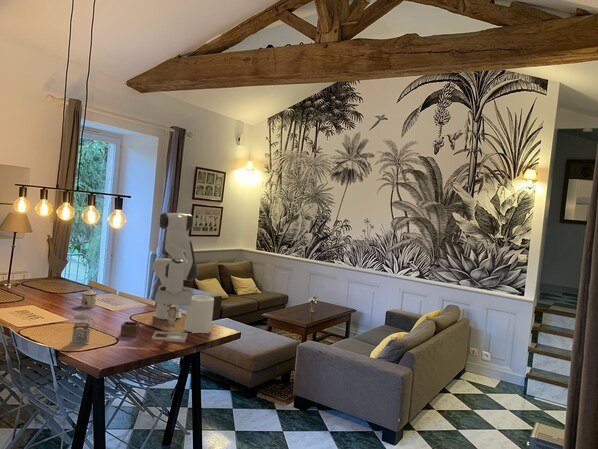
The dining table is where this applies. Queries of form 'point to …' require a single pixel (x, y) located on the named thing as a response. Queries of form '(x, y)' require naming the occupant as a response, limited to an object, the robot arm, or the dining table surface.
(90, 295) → the teacup with lid
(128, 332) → the pen pot
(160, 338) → the tray
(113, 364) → the dining table surface
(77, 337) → the french press
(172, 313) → the dowel
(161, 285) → the robot arm
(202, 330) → the canister
